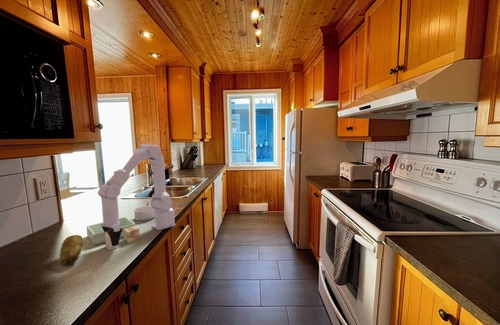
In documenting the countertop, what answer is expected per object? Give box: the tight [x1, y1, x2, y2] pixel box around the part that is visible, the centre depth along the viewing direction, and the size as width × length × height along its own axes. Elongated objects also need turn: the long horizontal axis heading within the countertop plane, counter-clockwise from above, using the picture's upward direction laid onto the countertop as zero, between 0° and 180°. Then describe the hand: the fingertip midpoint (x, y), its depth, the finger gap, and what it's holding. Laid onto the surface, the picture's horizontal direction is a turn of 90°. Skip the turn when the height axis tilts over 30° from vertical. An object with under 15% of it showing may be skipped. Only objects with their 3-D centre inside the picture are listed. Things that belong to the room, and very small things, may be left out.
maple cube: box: [123, 225, 141, 243], centre depth 104 cm, size 5×5×5 cm
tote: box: [86, 216, 136, 246], centre depth 109 cm, size 17×13×5 cm
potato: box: [59, 234, 84, 266], centre depth 87 cm, size 8×13×8 cm, turn 13°
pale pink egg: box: [105, 230, 121, 251], centre depth 97 cm, size 5×5×7 cm
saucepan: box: [133, 201, 155, 222], centre depth 136 cm, size 12×20×6 cm, turn 16°
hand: (112, 242), depth 97 cm, fingers open, 6 cm apart
